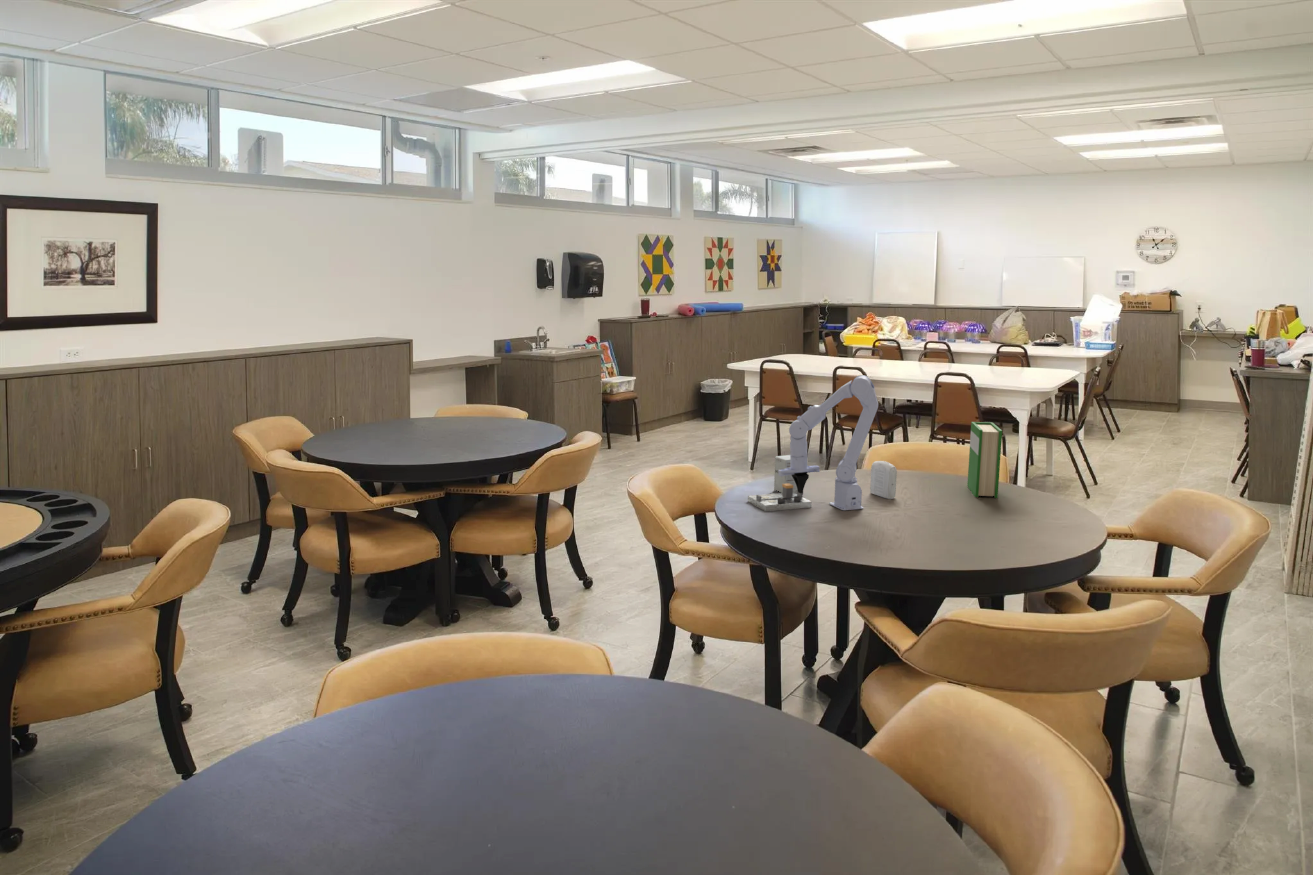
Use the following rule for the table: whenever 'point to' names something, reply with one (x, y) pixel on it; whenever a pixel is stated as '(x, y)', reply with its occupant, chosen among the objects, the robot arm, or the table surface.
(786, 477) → the supplement box
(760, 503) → the console
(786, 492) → the fader tab
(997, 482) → the hardback book
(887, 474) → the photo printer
